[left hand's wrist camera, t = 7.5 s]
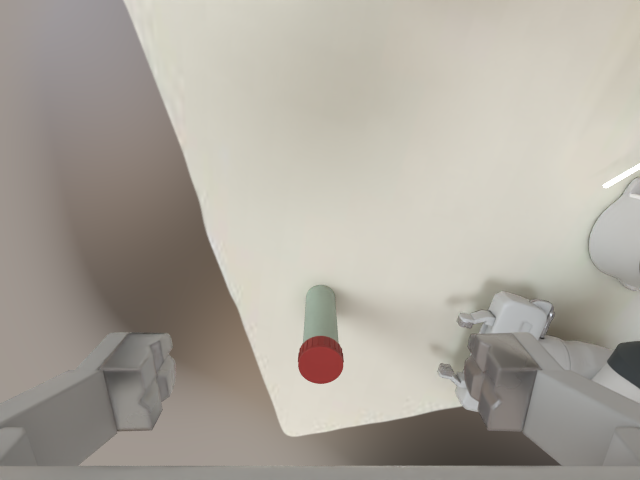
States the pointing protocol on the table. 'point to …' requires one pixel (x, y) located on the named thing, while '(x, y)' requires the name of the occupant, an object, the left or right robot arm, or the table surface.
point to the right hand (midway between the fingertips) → (449, 345)
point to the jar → (320, 313)
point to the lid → (320, 359)
